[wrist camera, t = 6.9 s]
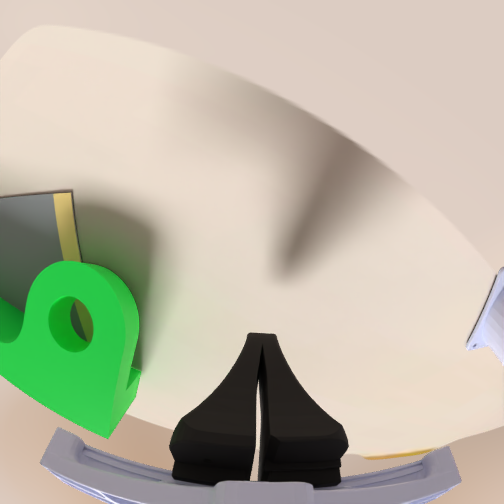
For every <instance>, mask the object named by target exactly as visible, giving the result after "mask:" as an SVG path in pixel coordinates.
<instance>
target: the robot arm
mask: <svg viewBox="0 0 504 504" xmlns="http://www.w3.org/2000/svg"><path fill="white" fill-rule="evenodd" d="M487 346H489V347H490V348H491V350H492V351H493V352H494V354H495V355H496V356H497V358H498V359H499V360H500V362H501V363H502V364H503V366H504V267H502V268H501V269H500V270H499V272H498V275H497V278H496V280H495V283H494V286H493V288H492V291H491V293H490V296H489V298H488V301H487V303H486V305H485V308H484V310H483V312H482V314H481V316H480V319H479V321H478V323H477V325H476V327H475V329H474V331H473V333H472V335H471V337H470V339H469V341H468V342H467V344H466V348H467V350H473V349H478V348H482V347H487ZM258 379H259V393H260V409H261V432H260V452H259V468H258V481H250V476H251V471H252V465H253V459H254V454H255V447H256V394H257V386H258ZM348 447H349V445H348V439H347V436H346V433H345V431H344V428H343V426H342V425H341V424H340V423H338V422H337V421H336V420H334V419H333V418H332V417H331V416H329V415H328V414H327V413H326V412H325V411H324V410H323V409H322V408H321V407H320V406H319V405H318V404H317V403H316V402H315V401H314V400H313V399H312V398H311V397H310V396H309V395H308V393H307V392H306V391H305V390H304V388H303V387H302V386H301V384H300V383H299V382H298V380H297V379H296V377H295V375H294V374H293V372H292V371H291V369H290V367H289V365H288V363H287V361H286V359H285V357H284V355H283V353H282V351H281V348H280V346H279V343H278V340H277V336H276V335H275V334H265V333H249V334H248V335H247V339H246V342H245V345H244V347H243V349H242V351H241V353H240V355H239V357H238V359H237V361H236V362H235V364H234V366H233V367H232V369H231V370H230V372H229V373H228V375H227V376H226V377H225V379H224V380H223V381H222V382H221V384H220V385H219V386H218V387H217V388H216V389H215V390H214V391H213V393H212V394H211V395H210V396H209V397H208V398H206V399H205V400H204V401H203V402H202V403H201V404H200V405H198V406H197V407H196V408H195V409H193V410H192V411H191V412H189V413H188V414H187V415H185V416H184V417H182V418H181V420H180V421H179V423H178V424H177V426H176V428H175V430H174V432H173V435H172V438H171V441H170V445H169V448H170V451H171V453H172V455H173V458H174V460H175V462H174V466H173V470H172V471H171V470H166V469H162V468H157V467H153V466H149V465H145V464H141V463H138V462H134V461H131V460H128V459H124V458H121V457H118V456H115V455H112V454H109V453H107V452H104V451H101V450H98V449H96V448H93V447H91V446H88V445H86V444H85V443H84V442H83V440H82V439H81V438H80V437H78V436H77V435H75V434H73V433H71V432H68V431H66V430H64V429H62V428H60V427H58V428H57V429H56V431H55V433H54V435H53V437H52V439H51V441H50V443H49V445H48V447H47V449H46V451H45V453H44V455H43V457H42V459H41V461H40V464H41V465H42V466H44V467H45V468H46V469H47V470H49V471H50V472H51V473H52V474H53V475H55V476H56V477H57V478H59V479H60V480H61V481H62V482H64V483H65V484H67V485H70V486H71V487H73V488H75V489H77V490H79V491H81V492H84V493H86V494H88V495H90V496H93V497H94V498H97V499H99V500H101V501H103V502H106V503H108V504H425V503H428V502H430V501H432V500H435V499H436V498H438V497H440V496H441V495H443V494H444V493H446V492H448V491H449V490H451V489H452V488H454V487H455V486H457V485H458V484H460V483H461V478H460V475H459V472H458V469H457V466H456V463H455V461H454V458H453V455H452V453H451V450H450V447H449V446H446V447H443V448H440V449H437V450H434V451H432V452H430V453H428V454H427V455H426V456H424V458H422V460H419V461H416V462H413V463H409V464H405V465H402V466H398V467H394V468H390V469H385V470H381V471H376V472H372V473H366V474H360V475H355V476H348V477H341V476H340V469H339V468H340V467H341V460H340V458H341V457H342V456H343V455H344V453H345V452H346V451H347V449H348Z"/></svg>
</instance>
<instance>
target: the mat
mask: <svg viewBox="0 0 504 504" xmlns="http://www.w3.org/2000/svg"><path fill="white" fill-rule="evenodd" d="M60 261H76V262H82V259H81V254H80V248H79V243H78V237H77V230H76V223H75V216H74V207H73V198H72V192H67V193H51V194H38V195H26V196H16V197H6V198H0V297H1V298H2V299H4V300H5V301H7V302H8V303H10V304H11V305H12V306H14V307H15V308H17V309H19V310H20V311H22V312H23V313H25V308H26V302H27V297H28V294H29V291H30V288H31V286H32V284H33V282H34V280H35V279H36V277H37V276H38V275H39V274H40V273H41V272H42V271H43V270H44V269H45V268H46V267H48V266H50V265H51V264H54V263H56V262H60ZM70 319H71V324H72V327H73V329H74V331H75V332H76V334H77V335H78V336H79V337H80V338H81V339H83V340H85V341H87V342H90V343H91V340H92V337H93V321H92V318H91V315H90V313H89V311H88V309H87V308H86V306H85V305H84V304H83V303H82V302H81V301H80V300H78V299H76V300H75V301H74V303H73V305H72V307H71V311H70Z"/></svg>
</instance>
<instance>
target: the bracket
mask: <svg viewBox="0 0 504 504" xmlns="http://www.w3.org/2000/svg"><path fill="white" fill-rule="evenodd" d="M76 299H78V300H80V301H81V302H82V303H83V304H84V305H85V306H86V308H87V309H88V311H89V313H90V315H91V318H92V321H93V337H92V340H91V343H90V342H87V341H85V340H83V339H81V338H80V337H79V336H78V335H77V334H76V332H75V331H74V329H73V327H72V324H71V319H70V311H71V307H72V305H73V303H74V301H75V300H76ZM138 335H139V314H138V309H137V306H136V303H135V300H134V298H133V296H132V294H131V292H130V290H129V289H128V287H127V286H126V284H125V283H124V282H123V281H122V280H121V279H120V278H119V277H118V276H117V275H116V274H115V273H113V272H112V271H110V270H109V269H107V268H105V267H102V266H99V265H94V264H88V263H82V262H76V261H60V262H56V263H54V264H51V265H50V266H48V267H46V268H45V269H44V270H43V271H42V272H41V273H40V274H39V275H38V276H37V277H36V279H35V280H34V282H33V284H32V286H31V288H30V291H29V294H28V297H27V302H26V308H25V313H23V312H22V311H20V310H19V309H17V308H15V307H14V306H12V305H11V304H10V303H8V302H7V301H5V300H4V299H2V298H1V297H0V375H1V376H3V377H4V378H5V379H7V380H8V381H9V382H10V383H12V384H13V385H15V386H16V387H17V388H19V389H20V390H22V391H23V392H24V393H26V394H27V395H29V396H30V397H32V398H33V399H35V400H36V401H38V402H39V403H41V404H42V405H44V406H46V407H47V408H49V409H50V410H52V411H54V412H56V413H57V414H59V415H61V416H62V417H64V418H66V419H68V420H70V421H72V422H73V423H75V424H77V425H79V426H81V427H83V428H85V429H87V430H89V431H91V432H94V433H96V434H98V435H100V436H102V437H104V438H107V439H108V438H109V437H110V435H111V434H112V432H113V431H114V429H115V428H116V426H117V424H118V423H119V421H120V420H121V418H122V417H123V415H124V414H125V412H126V411H127V409H128V408H129V406H130V405H131V403H132V402H133V400H134V399H135V397H136V393H137V388H138V384H139V380H140V375H141V371H139V370H136V369H134V368H131V365H132V361H133V357H134V352H135V348H136V344H137V340H138Z"/></svg>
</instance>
